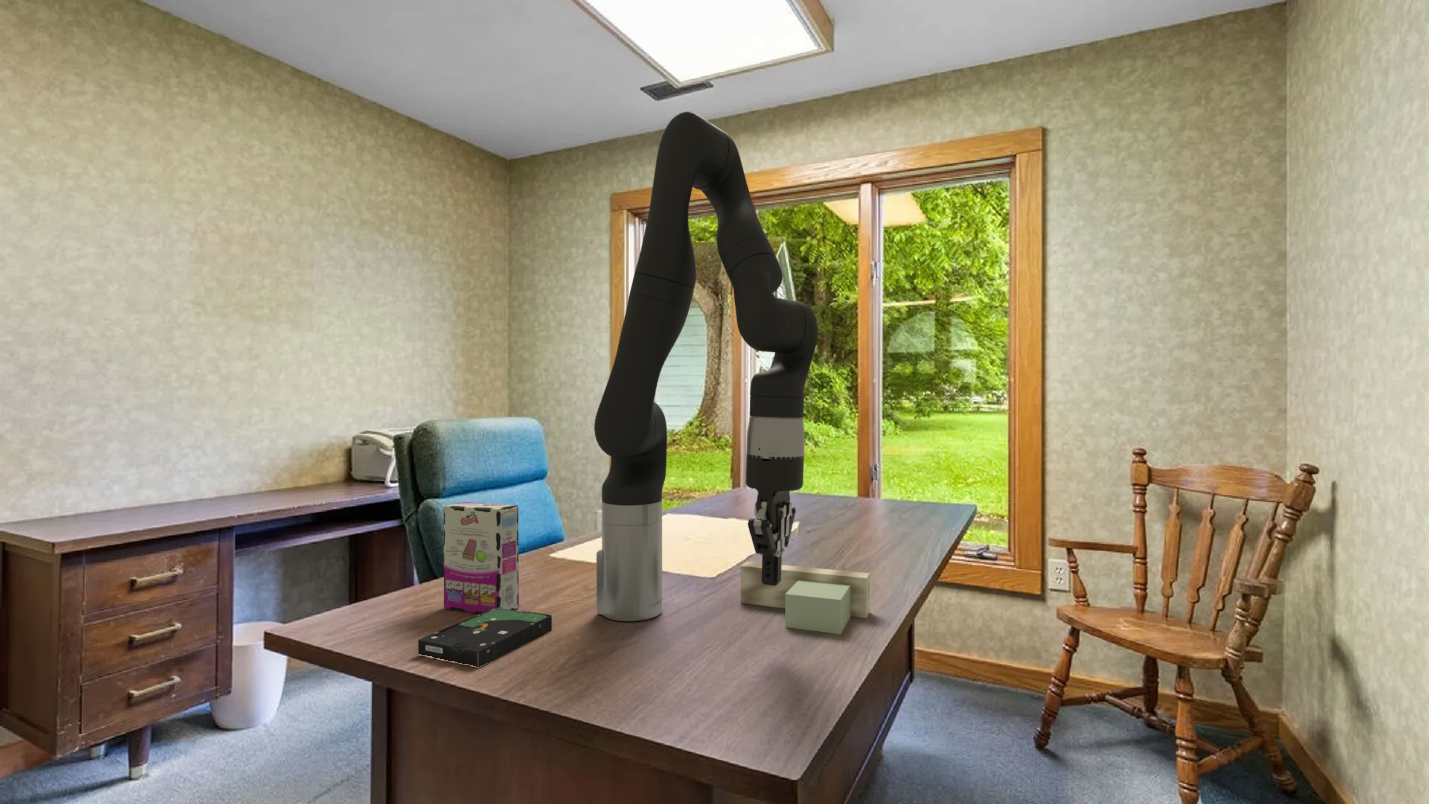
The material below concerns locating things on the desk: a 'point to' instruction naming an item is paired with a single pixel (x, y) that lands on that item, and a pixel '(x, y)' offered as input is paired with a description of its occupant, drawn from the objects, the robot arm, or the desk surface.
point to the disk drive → (485, 636)
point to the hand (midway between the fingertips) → (771, 583)
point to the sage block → (818, 606)
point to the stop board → (775, 595)
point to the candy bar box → (481, 557)
